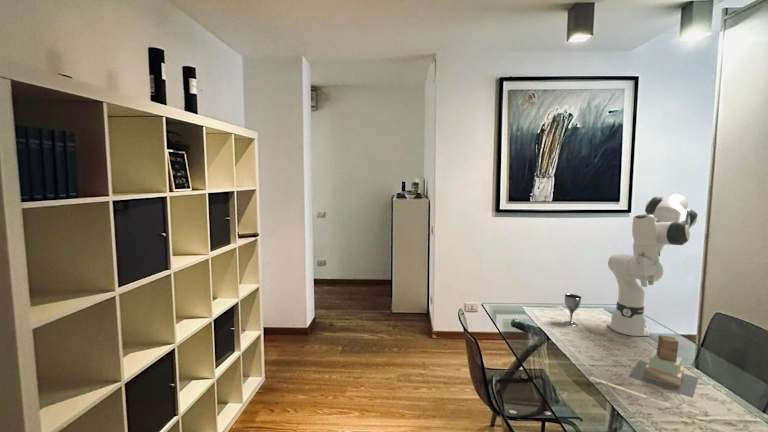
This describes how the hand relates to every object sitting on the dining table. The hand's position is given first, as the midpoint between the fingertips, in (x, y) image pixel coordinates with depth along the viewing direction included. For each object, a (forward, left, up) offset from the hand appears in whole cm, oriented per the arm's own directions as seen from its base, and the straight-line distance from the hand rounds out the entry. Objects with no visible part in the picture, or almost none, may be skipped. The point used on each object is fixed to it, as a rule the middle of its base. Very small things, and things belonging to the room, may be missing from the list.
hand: (647, 285), depth 166 cm
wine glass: (-24, -36, -34) cm, 55 cm away
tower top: (+10, +10, -29) cm, 32 cm away
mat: (+10, +10, -33) cm, 36 cm away
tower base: (+10, +10, -33) cm, 36 cm away
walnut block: (+10, +10, -25) cm, 28 cm away
